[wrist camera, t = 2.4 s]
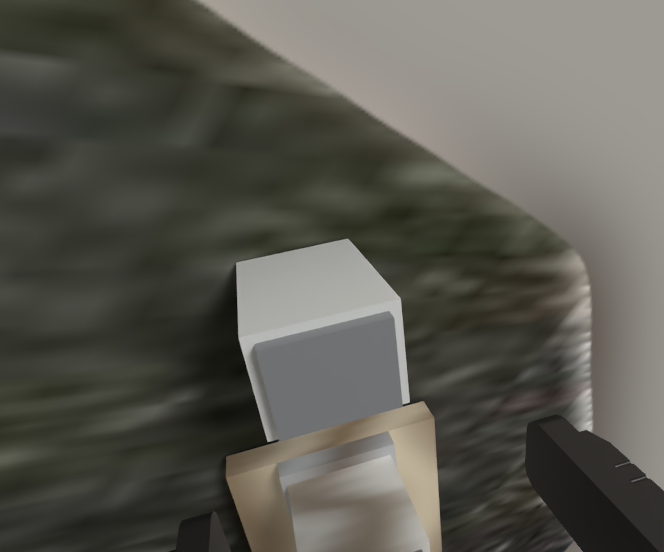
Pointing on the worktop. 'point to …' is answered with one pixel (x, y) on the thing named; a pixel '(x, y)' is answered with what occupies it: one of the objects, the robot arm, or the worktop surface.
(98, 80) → the worktop surface
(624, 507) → the robot arm
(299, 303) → the block
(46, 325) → the worktop surface
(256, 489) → the rail board
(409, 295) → the worktop surface
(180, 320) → the worktop surface
